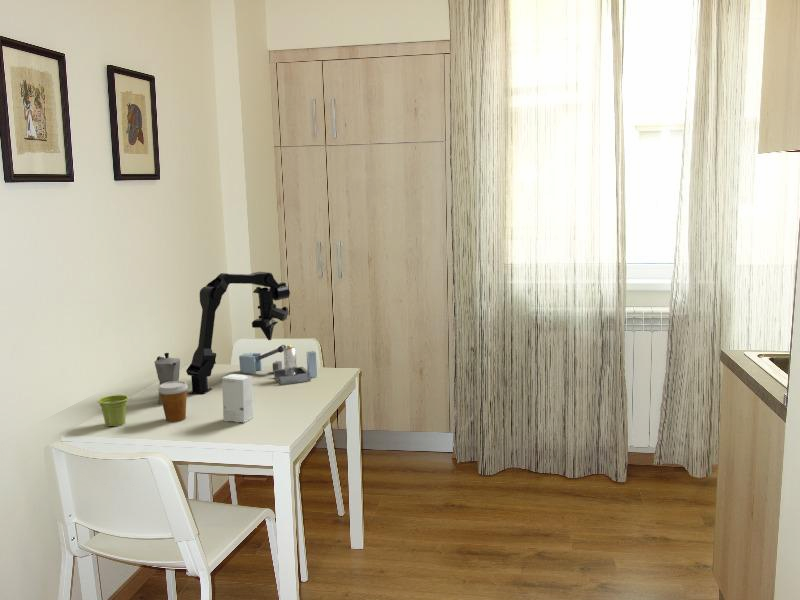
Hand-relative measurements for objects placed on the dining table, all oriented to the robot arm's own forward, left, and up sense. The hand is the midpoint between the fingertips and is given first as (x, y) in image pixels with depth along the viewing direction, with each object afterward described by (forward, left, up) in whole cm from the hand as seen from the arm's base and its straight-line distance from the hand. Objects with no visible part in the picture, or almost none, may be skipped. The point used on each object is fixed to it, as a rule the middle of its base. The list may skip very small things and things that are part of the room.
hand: (269, 340), depth 299 cm
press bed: (-8, -14, -14) cm, 21 cm away
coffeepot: (-41, +23, -14) cm, 49 cm away
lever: (+1, 0, -7) cm, 7 cm away
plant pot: (-68, +27, -14) cm, 75 cm away
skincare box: (-59, -13, -14) cm, 62 cm away
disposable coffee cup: (-61, +9, -14) cm, 63 cm away
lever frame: (+1, +5, -14) cm, 15 cm away
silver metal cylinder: (-9, -12, -13) cm, 20 cm away
